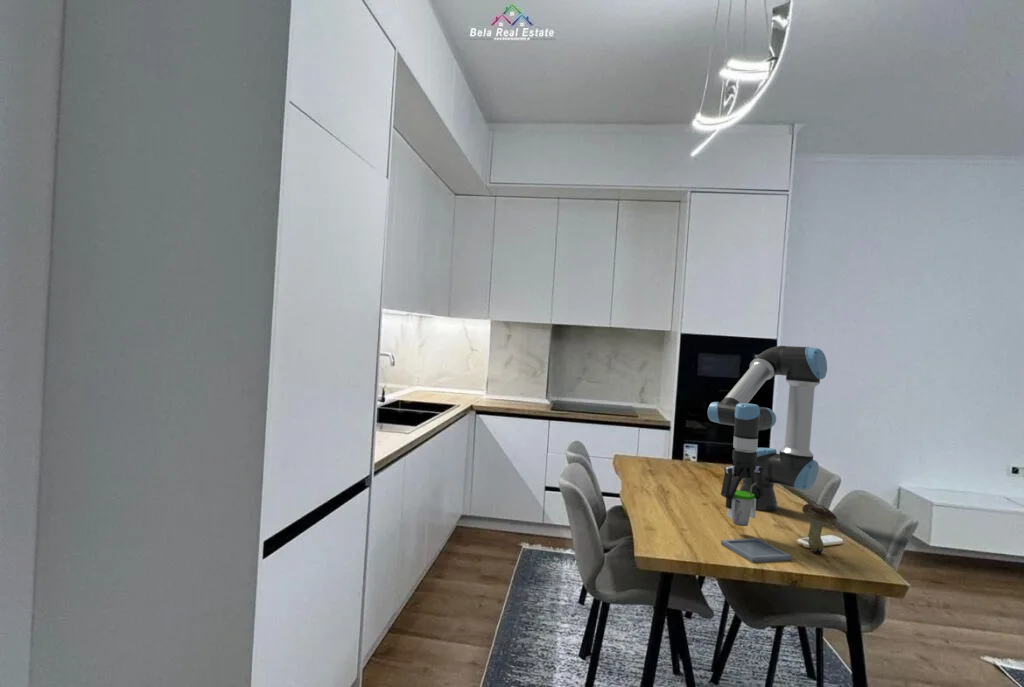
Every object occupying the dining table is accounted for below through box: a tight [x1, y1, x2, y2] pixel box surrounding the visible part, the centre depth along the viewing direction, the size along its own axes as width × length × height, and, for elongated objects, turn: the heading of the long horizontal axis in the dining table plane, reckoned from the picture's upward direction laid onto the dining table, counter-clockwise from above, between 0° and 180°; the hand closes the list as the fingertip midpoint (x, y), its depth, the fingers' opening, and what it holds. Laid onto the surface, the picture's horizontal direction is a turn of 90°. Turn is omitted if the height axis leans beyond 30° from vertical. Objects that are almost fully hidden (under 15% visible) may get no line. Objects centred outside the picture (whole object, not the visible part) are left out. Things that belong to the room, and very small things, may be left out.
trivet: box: [720, 538, 792, 563], centre depth 172 cm, size 14×14×1 cm
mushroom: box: [801, 502, 838, 555], centre depth 175 cm, size 9×9×15 cm
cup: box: [732, 482, 757, 527], centre depth 188 cm, size 8×8×15 cm
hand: (740, 517), depth 188 cm, fingers closed on cup, 8 cm apart
